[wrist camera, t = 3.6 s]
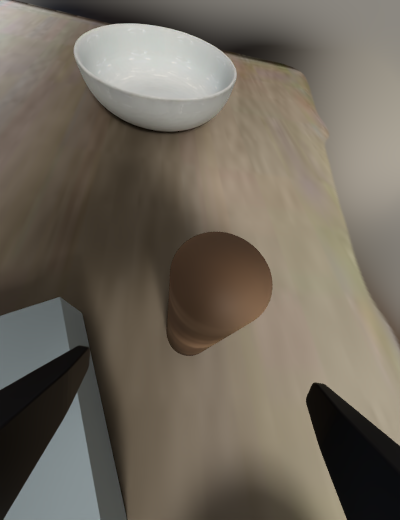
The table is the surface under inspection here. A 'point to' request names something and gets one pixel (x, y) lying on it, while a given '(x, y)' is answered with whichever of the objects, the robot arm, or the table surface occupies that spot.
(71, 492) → the socket block
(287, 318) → the table surface
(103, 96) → the serving bowl
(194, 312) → the walnut peg
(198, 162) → the table surface
